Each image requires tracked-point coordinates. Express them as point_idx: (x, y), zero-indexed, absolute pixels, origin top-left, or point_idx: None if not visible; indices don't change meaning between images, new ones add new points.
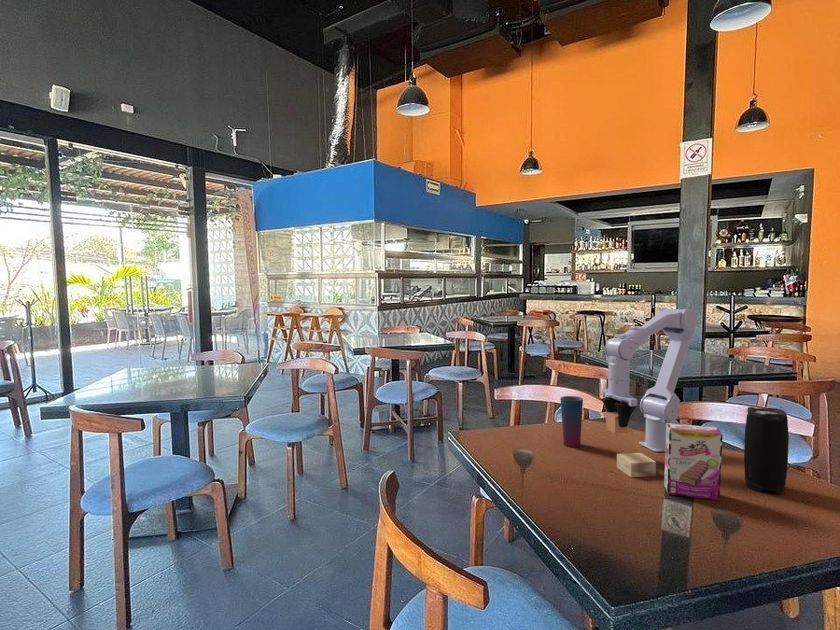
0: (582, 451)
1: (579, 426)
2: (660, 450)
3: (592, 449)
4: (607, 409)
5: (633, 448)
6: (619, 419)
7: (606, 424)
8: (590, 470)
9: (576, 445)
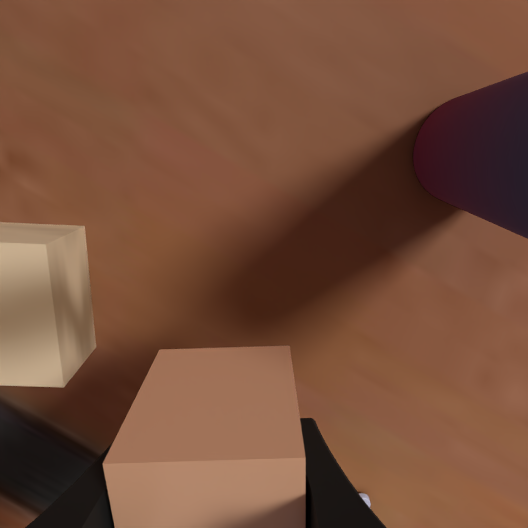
0: (340, 159)
1: (484, 193)
2: None
3: (356, 237)
4: (333, 515)
5: None
6: (96, 473)
7: (283, 368)
8: (35, 40)
9: (417, 157)
